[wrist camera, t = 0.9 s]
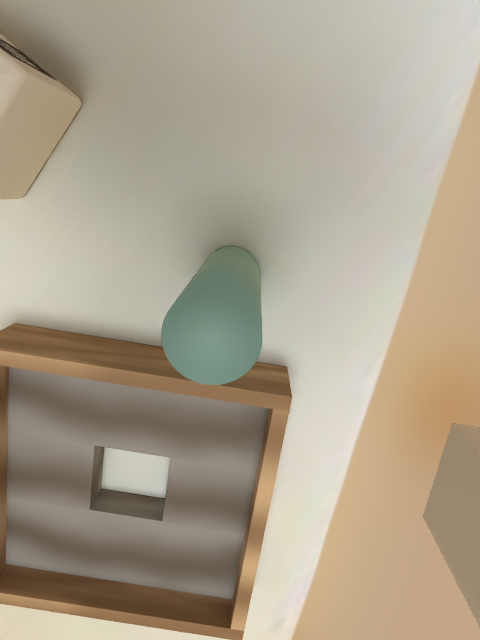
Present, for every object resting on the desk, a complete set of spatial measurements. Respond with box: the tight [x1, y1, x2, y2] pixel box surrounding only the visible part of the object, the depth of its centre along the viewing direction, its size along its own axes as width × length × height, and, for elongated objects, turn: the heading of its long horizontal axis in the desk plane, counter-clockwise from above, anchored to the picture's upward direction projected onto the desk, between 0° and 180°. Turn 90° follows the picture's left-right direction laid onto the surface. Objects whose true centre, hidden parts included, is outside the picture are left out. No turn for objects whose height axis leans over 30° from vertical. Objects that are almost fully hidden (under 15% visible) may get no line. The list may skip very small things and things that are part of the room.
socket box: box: [0, 324, 292, 640], centre depth 33 cm, size 20×20×5 cm
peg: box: [161, 246, 262, 385], centre depth 25 cm, size 4×4×14 cm
